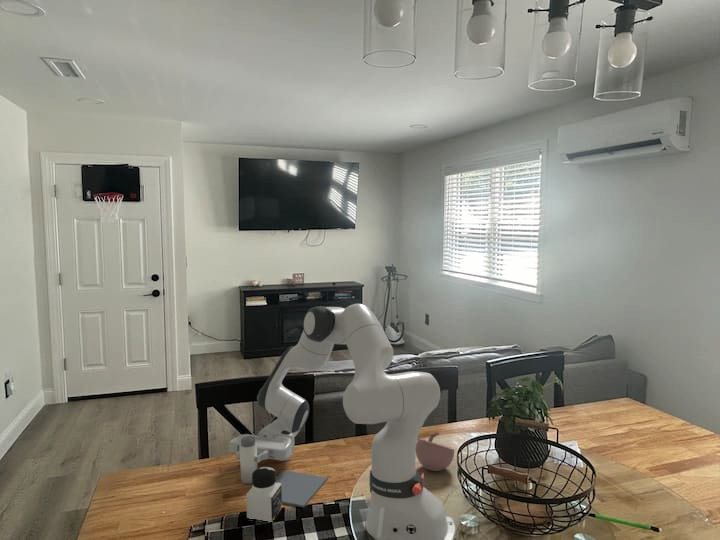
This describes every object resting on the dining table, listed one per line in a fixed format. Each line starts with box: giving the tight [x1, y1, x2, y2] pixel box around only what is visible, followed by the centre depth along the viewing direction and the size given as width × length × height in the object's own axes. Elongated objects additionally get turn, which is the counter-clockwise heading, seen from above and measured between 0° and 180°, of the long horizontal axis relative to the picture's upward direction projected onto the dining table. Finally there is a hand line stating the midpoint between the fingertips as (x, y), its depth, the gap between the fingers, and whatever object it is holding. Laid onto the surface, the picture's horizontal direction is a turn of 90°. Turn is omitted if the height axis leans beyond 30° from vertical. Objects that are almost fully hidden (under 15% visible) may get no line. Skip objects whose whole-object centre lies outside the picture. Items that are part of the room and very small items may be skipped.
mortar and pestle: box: [415, 431, 455, 472], centre depth 150 cm, size 12×12×11 cm
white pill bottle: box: [239, 436, 258, 484], centre depth 145 cm, size 5×5×12 cm
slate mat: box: [275, 469, 329, 508], centre depth 140 cm, size 15×16×1 cm
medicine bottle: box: [245, 466, 283, 523], centre depth 127 cm, size 7×7×12 cm
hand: (247, 458), depth 144 cm, fingers closed on white pill bottle, 5 cm apart
